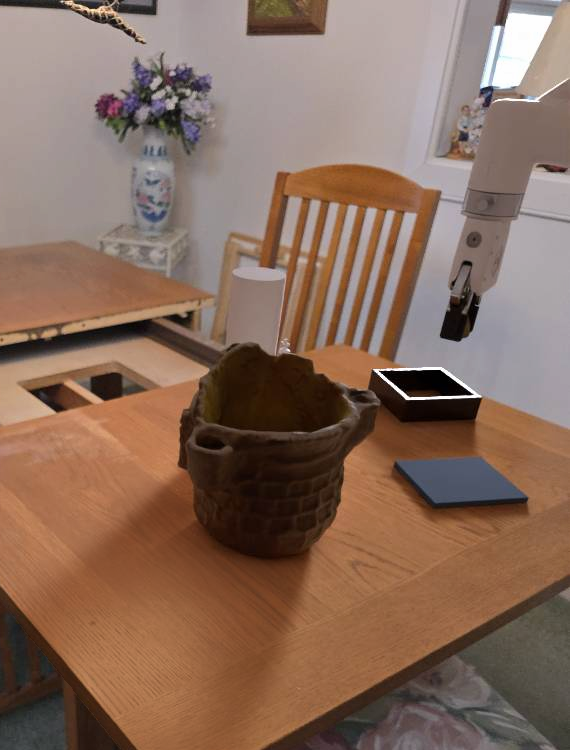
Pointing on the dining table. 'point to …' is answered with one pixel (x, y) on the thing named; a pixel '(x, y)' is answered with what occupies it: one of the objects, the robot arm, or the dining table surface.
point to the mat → (459, 482)
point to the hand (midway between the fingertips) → (456, 333)
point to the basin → (451, 406)
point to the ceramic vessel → (270, 449)
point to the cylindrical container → (255, 307)
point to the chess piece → (284, 347)
